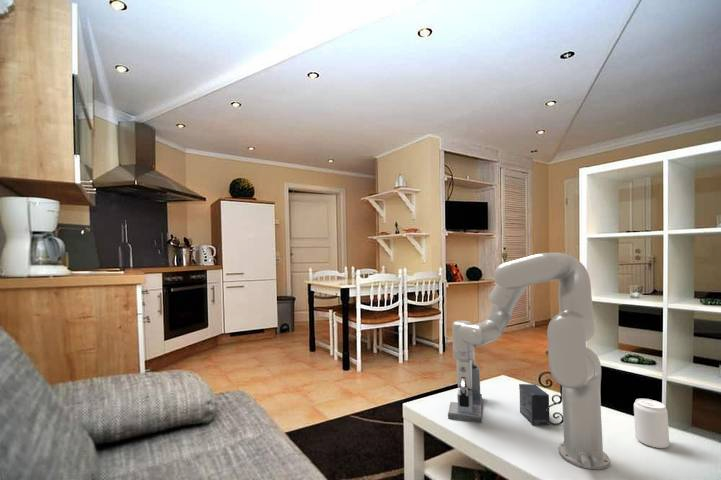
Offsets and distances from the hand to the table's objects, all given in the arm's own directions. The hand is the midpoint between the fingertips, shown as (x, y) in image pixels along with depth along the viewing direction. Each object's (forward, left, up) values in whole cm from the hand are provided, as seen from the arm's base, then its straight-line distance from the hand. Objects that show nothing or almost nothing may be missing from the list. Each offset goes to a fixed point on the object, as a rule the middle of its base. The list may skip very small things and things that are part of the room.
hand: (464, 401), depth 130 cm
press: (+5, -1, -5) cm, 7 cm away
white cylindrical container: (-4, -56, -5) cm, 56 cm away
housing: (0, 0, -3) cm, 3 cm away
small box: (+3, -24, -5) cm, 25 cm away
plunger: (+15, -3, +5) cm, 16 cm away
